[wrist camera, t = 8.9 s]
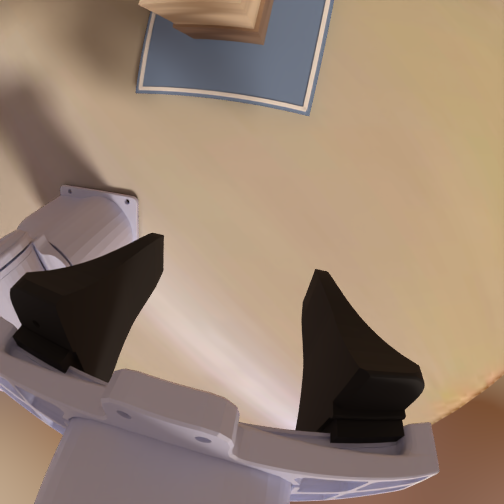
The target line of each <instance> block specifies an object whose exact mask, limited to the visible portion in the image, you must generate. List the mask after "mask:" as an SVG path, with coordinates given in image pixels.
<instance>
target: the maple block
mask: <svg viewBox="0 0 504 504" xmlns="http://www.w3.org/2000/svg"><path fill="white" fill-rule="evenodd" d="M260 2H261V0H140V1H139V5H140V6H142V7H144V8H146V9H148V10H150V11H152V12H154V13H156V14H158V15H159V16H161V17H163V18H165V19H167V20H169V21H171V22H172V23H174V24H200V25H219V26H231V27H241V28H249V29H254V27H255V23H256V18H257V14H258V10H259V6H260Z"/></svg>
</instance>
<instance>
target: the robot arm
mask: <svg viewBox="0 0 504 504" xmlns="http://www.w3.org/2000/svg"><path fill="white" fill-rule="evenodd" d="M70 190H71V191H72V192H71V191H70ZM60 195H61V196H59V197H57V198H56V199H54V200H52V201H51V202H49V203H48V204H46V205H44V206H43V207H41V208H40V209H38V210H37V211H35V212H34V213H32V214H31V215H29V216H28V217H26V218H25V219H24V220H23V221H22V222H21V223H20V225H19V226H18V228H17V230H15V231H13V232H11V233H9V234H8V235H6V236H4V237H3V238H1V239H0V391H3V392H5V393H6V394H7V395H9V396H10V397H11V398H12V399H14V400H15V401H16V402H18V403H19V404H20V405H21V406H23V407H24V408H25V409H27V410H28V411H29V412H31V413H32V414H33V415H35V416H36V417H37V418H39V419H40V420H42V421H43V422H44V423H46V424H47V425H49V426H50V427H52V428H53V429H55V430H56V431H58V432H59V433H61V434H62V435H63V436H62V438H61V441H60V443H59V445H58V447H57V449H56V452H55V454H54V456H53V458H52V461H51V463H50V465H49V467H48V470H47V473H46V475H45V477H44V479H43V482H42V484H41V487H40V489H39V492H38V495H37V498H36V500H35V503H34V504H290V501H319V500H334V499H344V498H353V497H361V496H368V495H375V494H381V493H387V492H393V491H398V490H403V489H405V488H408V487H410V486H412V485H414V484H417V483H419V482H421V481H423V480H425V479H427V478H429V477H431V476H433V475H435V474H437V473H438V472H439V467H438V459H437V453H436V448H435V443H434V437H433V432H432V428H431V423H430V422H425V423H413V424H408V425H405V426H403V423H402V420H403V419H405V417H406V415H405V409H406V408H407V407H408V406H409V405H410V404H411V403H413V402H414V401H415V400H416V399H417V398H418V397H419V396H420V394H421V393H422V391H423V389H424V380H423V376H422V373H421V370H420V367H419V365H417V364H416V363H414V362H412V361H411V360H409V359H408V358H406V357H404V356H403V355H401V354H400V353H399V352H397V351H396V350H395V349H393V348H392V347H391V346H390V345H388V344H387V343H386V342H385V341H384V340H382V339H381V338H380V337H379V336H378V335H377V334H376V333H375V332H374V331H373V330H372V329H371V328H370V327H369V326H368V325H367V324H366V323H365V322H364V321H363V320H362V318H361V317H360V316H359V315H358V314H357V312H356V311H355V310H354V309H353V307H352V306H351V305H350V303H349V302H348V301H347V299H346V298H345V296H344V295H343V293H342V292H341V290H340V289H339V287H338V286H337V284H336V283H335V281H334V280H333V278H332V277H331V275H330V274H329V273H328V272H327V271H322V270H318V269H315V272H314V274H313V277H312V280H311V282H310V285H309V288H308V290H307V293H306V296H305V298H304V301H303V307H302V340H303V379H302V389H301V398H300V405H299V412H298V419H297V425H296V430H287V429H279V428H271V427H265V426H258V425H252V424H246V423H241V422H238V421H239V411H238V408H237V407H236V405H234V404H233V403H232V402H230V401H229V400H227V399H226V398H224V397H221V396H219V395H216V394H213V393H210V392H207V391H203V390H199V389H195V388H191V387H187V386H184V385H180V384H177V383H173V382H170V381H167V380H163V379H160V378H157V377H154V376H151V375H148V374H145V373H142V372H139V371H135V370H130V369H121V370H118V371H114V368H115V366H116V363H117V360H118V357H119V354H120V352H121V349H122V347H123V344H124V342H125V340H126V337H127V335H128V333H129V331H130V329H131V326H132V325H133V323H134V321H135V319H136V317H137V316H138V314H139V313H140V311H141V309H142V308H143V306H144V305H145V303H146V302H147V300H148V298H149V297H150V295H151V294H152V292H153V291H154V289H155V287H156V285H157V283H158V281H159V279H160V277H161V275H162V272H163V249H164V235H160V234H156V233H150V234H148V235H146V236H143V237H141V238H139V232H138V199H137V198H136V197H135V196H130V195H125V194H119V193H113V192H107V191H101V190H95V189H89V188H83V187H76V186H70V185H63V186H61V187H60ZM127 199H128V200H129V203H128V202H127ZM113 371H114V373H113ZM112 374H113V375H112Z"/></svg>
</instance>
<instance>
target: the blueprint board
mask: <svg viewBox="0 0 504 504" xmlns="http://www.w3.org/2000/svg"><path fill="white" fill-rule="evenodd" d="M333 3H334V0H261V2H260V6H259V10H258V14H257V18H256V23H255V27H254V29H249V28H241V27H231V26H219V25H200V24H174V23H172V22H171V21H169V20H167V19H165V18H163V17H161V16H159V15H158V14H156V13H154V12H152V11H151V12H150V16H149V20H148V24H147V29H146V34H145V38H144V43H143V49H142V54H141V60H140V66H139V72H138V79H137V86H136V93H148V94H170V95H184V96H195V97H205V98H214V99H222V100H229V101H236V102H242V103H248V104H254V105H260V106H265V107H270V108H275V109H280V110H285V111H289V112H294V113H298V114H302V115H306V116H309V115H310V111H311V106H312V102H313V98H314V93H315V89H316V84H317V80H318V75H319V71H320V66H321V61H322V57H323V52H324V47H325V43H326V38H327V33H328V28H329V23H330V18H331V13H332V8H333Z"/></svg>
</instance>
